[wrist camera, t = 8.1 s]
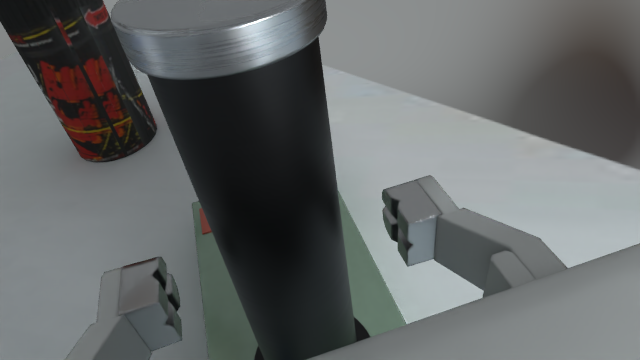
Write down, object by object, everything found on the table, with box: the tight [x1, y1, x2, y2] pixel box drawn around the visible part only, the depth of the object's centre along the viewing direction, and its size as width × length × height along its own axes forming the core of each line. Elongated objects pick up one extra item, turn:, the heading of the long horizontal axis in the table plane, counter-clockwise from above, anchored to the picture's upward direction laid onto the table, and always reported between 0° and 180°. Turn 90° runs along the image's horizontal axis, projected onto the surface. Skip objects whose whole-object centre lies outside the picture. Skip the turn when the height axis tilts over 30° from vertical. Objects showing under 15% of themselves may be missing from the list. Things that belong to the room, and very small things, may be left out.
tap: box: [111, 0, 370, 360], centre depth 14 cm, size 4×9×14 cm, turn 17°
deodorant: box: [0, 0, 157, 162], centre depth 29 cm, size 6×6×15 cm
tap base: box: [192, 191, 407, 360], centre depth 20 cm, size 8×16×2 cm, turn 17°
